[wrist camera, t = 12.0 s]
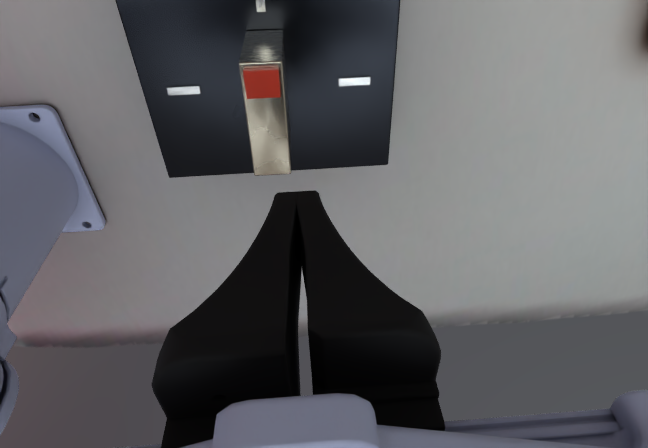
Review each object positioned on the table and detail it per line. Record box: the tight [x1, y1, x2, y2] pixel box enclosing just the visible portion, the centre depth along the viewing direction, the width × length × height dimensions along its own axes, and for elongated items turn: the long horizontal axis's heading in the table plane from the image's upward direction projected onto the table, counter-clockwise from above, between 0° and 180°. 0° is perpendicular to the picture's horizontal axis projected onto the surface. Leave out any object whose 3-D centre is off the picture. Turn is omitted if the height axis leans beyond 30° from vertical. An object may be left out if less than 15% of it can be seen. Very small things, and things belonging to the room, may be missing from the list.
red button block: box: [238, 30, 291, 176], centre depth 18 cm, size 5×2×4 cm, turn 1°
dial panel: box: [116, 0, 400, 178], centre depth 20 cm, size 11×9×3 cm
